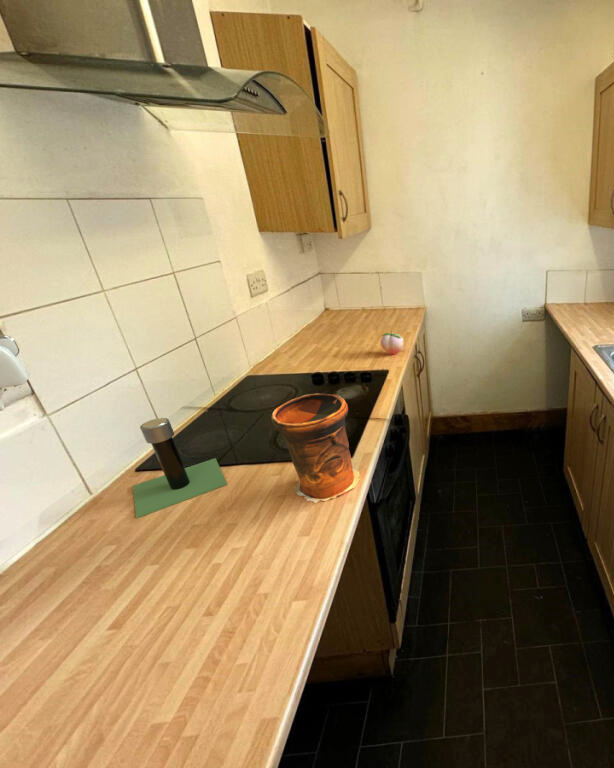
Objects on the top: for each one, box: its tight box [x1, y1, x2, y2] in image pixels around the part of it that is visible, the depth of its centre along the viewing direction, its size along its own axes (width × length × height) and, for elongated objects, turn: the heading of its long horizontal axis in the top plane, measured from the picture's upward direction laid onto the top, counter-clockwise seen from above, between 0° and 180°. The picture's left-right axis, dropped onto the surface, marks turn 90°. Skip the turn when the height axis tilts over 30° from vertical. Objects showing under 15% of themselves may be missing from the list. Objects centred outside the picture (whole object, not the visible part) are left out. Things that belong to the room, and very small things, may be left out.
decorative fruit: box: [380, 332, 405, 355], centre depth 170 cm, size 9×8×10 cm
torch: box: [139, 417, 190, 490], centre depth 91 cm, size 5×5×16 cm
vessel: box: [270, 392, 361, 504], centre depth 90 cm, size 14×14×20 cm
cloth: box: [132, 457, 228, 519], centre depth 94 cm, size 16×14×1 cm
